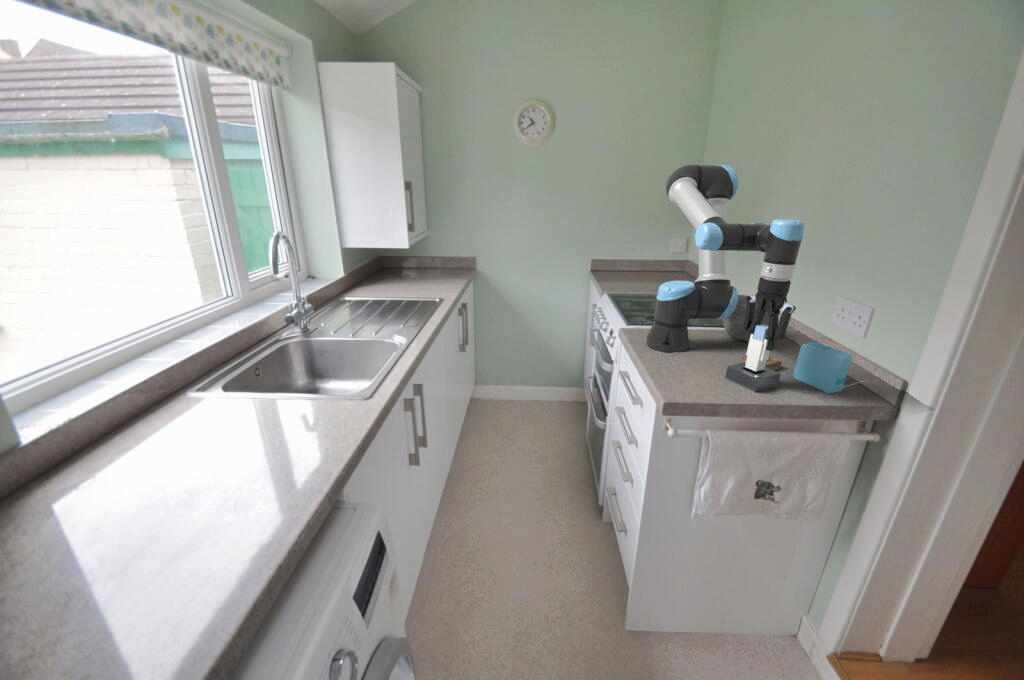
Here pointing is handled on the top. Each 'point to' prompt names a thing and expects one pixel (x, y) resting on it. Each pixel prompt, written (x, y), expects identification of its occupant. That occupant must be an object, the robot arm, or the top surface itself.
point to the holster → (768, 363)
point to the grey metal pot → (740, 320)
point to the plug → (757, 349)
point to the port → (752, 377)
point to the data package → (822, 367)
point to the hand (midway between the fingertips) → (757, 357)
